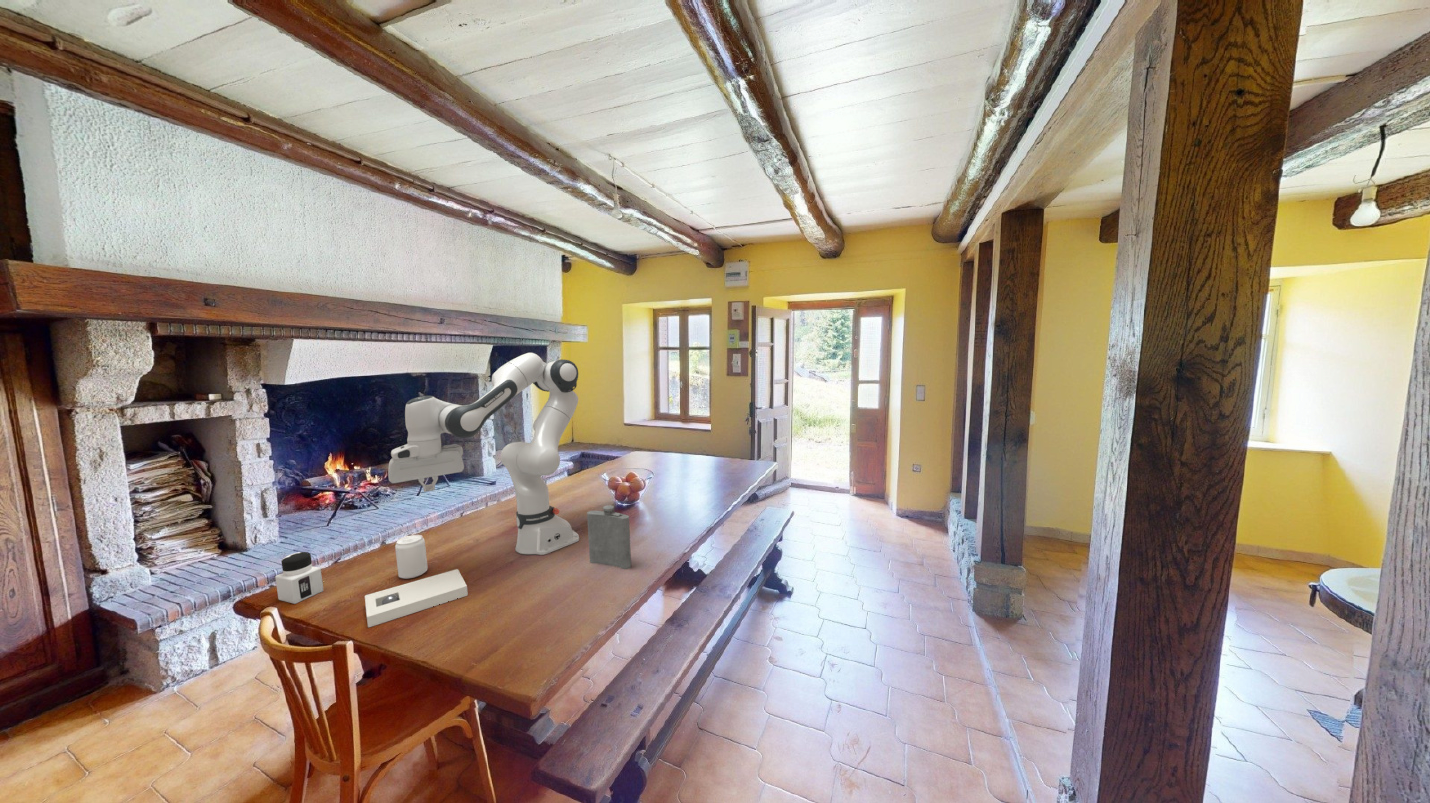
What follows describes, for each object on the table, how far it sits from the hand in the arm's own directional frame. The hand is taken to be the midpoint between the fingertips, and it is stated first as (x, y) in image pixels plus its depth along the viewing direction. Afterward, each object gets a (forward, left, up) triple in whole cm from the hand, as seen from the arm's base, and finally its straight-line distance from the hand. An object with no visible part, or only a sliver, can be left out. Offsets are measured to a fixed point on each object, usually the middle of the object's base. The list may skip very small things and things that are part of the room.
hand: (429, 490), depth 145 cm
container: (+34, -15, -29) cm, 47 cm away
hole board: (+7, +12, -29) cm, 32 cm away
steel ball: (+13, +12, -27) cm, 33 cm away
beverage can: (+6, -8, -29) cm, 31 cm away
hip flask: (-47, +29, -29) cm, 63 cm away
